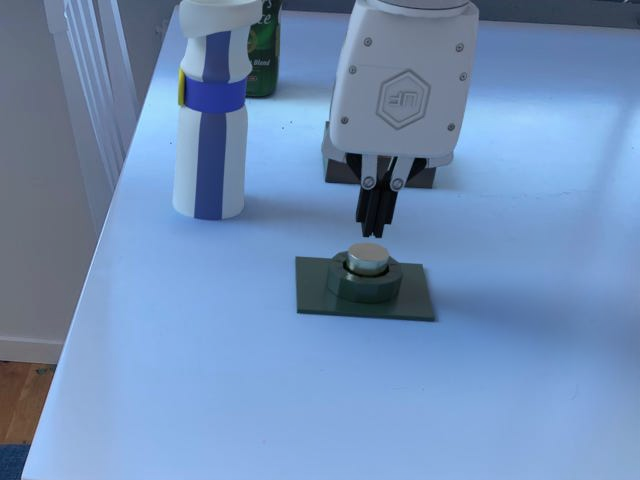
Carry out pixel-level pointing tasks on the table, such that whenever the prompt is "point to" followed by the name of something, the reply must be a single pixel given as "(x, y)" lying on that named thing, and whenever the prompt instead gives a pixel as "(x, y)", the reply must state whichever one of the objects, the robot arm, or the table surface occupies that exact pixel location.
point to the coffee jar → (264, 50)
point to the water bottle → (213, 107)
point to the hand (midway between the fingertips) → (371, 230)
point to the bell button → (367, 260)
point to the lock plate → (344, 174)
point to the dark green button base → (361, 290)
